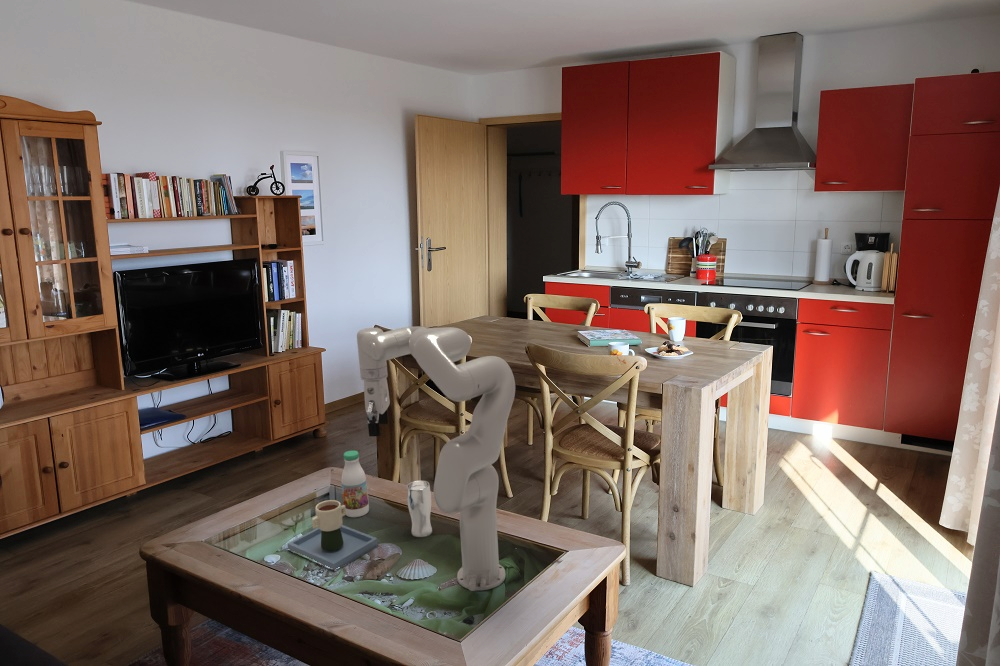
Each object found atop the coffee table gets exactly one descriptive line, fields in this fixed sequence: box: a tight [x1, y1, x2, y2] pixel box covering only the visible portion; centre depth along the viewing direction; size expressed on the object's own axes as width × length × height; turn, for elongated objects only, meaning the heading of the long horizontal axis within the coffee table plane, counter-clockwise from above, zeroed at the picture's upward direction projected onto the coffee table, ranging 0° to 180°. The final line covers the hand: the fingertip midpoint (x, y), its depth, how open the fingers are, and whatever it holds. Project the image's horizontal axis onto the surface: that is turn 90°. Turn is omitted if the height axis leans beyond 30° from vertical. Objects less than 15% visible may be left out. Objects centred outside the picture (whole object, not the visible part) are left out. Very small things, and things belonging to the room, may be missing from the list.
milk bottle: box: [340, 450, 370, 518], centre depth 227 cm, size 8×8×20 cm
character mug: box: [311, 499, 346, 551], centre depth 206 cm, size 11×7×13 cm, turn 136°
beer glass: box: [406, 480, 433, 538], centre depth 213 cm, size 7×7×15 cm
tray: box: [287, 524, 379, 569], centre depth 208 cm, size 20×16×2 cm
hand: (379, 429), depth 208 cm, fingers open, 9 cm apart
